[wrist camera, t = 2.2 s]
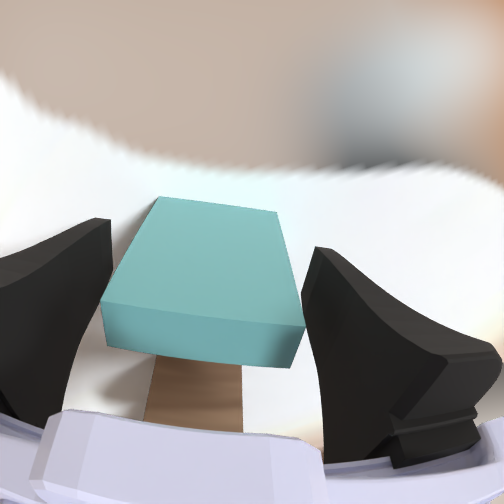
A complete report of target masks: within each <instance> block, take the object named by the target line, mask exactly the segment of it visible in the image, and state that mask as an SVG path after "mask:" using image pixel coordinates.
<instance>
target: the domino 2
mask: <svg viewBox="0 0 504 504" xmlns="http://www.w3.org/2000/svg"><path fill="white" fill-rule="evenodd" d="M143 421H144V422H150V423H156V424H162V425H169V426H176V427H184V428H192V429H201V430H212V431H224V432H238V433H243V407H242V365H236V364H225V363H216V362H207V361H198V360H190V359H183V358H176V357H169V356H162V355H157V358H156V362H155V367H154V371H153V376H152V380H151V385H150V390H149V395H148V399H147V404H146V409H145V414H144V419H143Z"/></svg>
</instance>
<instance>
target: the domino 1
mask: <svg viewBox="0 0 504 504" xmlns="http://www.w3.org/2000/svg"><path fill="white" fill-rule="evenodd" d="M100 303H101V311H102V317H103V324H104V330H105V336H106V342H107V346H110V347H115V348H121V349H126V350H132V351H137V352H143V353H149V354H156V355H162V356H169V357H176V358H183V359H190V360H198V361H207V362H216V363H225V364H236V365H247V366H259V367H274V368H290V367H291V365H292V362H293V360H294V357H295V354H296V352H297V349H298V347H299V344H300V341H301V339H302V336H303V334H304V331H305V328H306V324H305V320H304V316H303V312H302V308H301V304H300V300H299V296H298V292H297V288H296V284H295V280H294V276H293V272H292V268H291V264H290V260H289V257H288V253H287V249H286V245H285V241H284V238H283V234H282V230H281V226H280V223H279V219H278V215H277V212H272V211H266V210H259V209H252V208H245V207H238V206H231V205H224V204H216V203H209V202H201V201H194V200H186V199H178V198H169V197H161V196H159V197H158V199H157V201H156V202H155V204H154V205H153V207H152V209H151V210H150V212H149V214H148V215H147V217H146V219H145V220H144V222H143V224H142V225H141V227H140V229H139V230H138V232H137V234H136V235H135V237H134V239H133V241H132V242H131V244H130V246H129V248H128V249H127V251H126V253H125V255H124V256H123V258H122V260H121V262H120V264H119V266H118V267H117V269H116V271H115V273H114V275H113V277H112V278H111V280H110V282H109V284H108V286H107V288H106V290H105V292H104V294H103V296H102V298H101V300H100Z"/></svg>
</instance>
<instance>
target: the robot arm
mask: <svg viewBox="0 0 504 504" xmlns="http://www.w3.org/2000/svg"><path fill="white" fill-rule="evenodd" d="M112 271H113V260H112V240H111V220H110V219H101V218H93V219H90V220H87V221H85V222H83V223H80V224H78V225H76V226H74V227H72V228H70V229H68V230H66V231H64V232H62V233H60V234H58V235H56V236H53V237H51V238H49V239H47V240H45V241H43V242H40V243H38V244H36V245H34V246H32V247H29V248H27V249H24V250H22V251H19V252H17V253H14V254H11V255H8V256H6V257H2V258H0V504H491V503H490V501H492V500H493V499H495V498H497V497H498V496H500V495H501V494H503V493H504V416H502V417H498V418H495V419H492V420H489V421H486V422H484V423H482V424H480V425H479V426H477V427H476V426H475V424H474V421H473V419H475V418H476V417H477V414H478V413H477V411H476V409H475V407H474V406H475V404H476V403H477V402H478V401H479V400H480V399H481V398H482V397H483V396H484V395H485V393H486V392H487V391H488V390H489V389H490V388H491V387H492V385H493V384H494V382H495V381H496V380H497V378H498V376H499V374H500V372H501V368H502V364H503V363H502V359H501V357H500V355H499V354H498V352H497V351H496V349H495V348H494V347H493V345H492V344H490V343H488V342H485V341H482V340H479V339H476V338H473V337H470V336H467V335H464V334H462V333H459V332H457V331H455V330H452V329H450V328H448V327H445V326H443V325H441V324H439V323H437V322H435V321H433V320H431V319H429V318H427V317H425V316H424V315H422V314H420V313H418V312H416V311H415V310H413V309H411V308H410V307H408V306H406V305H405V304H403V303H402V302H400V301H399V300H397V299H396V298H394V297H393V296H391V295H390V294H389V293H387V292H386V291H385V290H383V289H382V288H381V287H379V286H378V285H377V284H375V283H374V282H373V281H372V280H370V279H369V278H368V277H367V276H365V275H364V274H363V273H362V272H361V271H359V270H358V269H357V268H356V267H355V266H353V265H352V264H351V263H350V262H349V261H347V260H346V259H345V258H344V257H342V256H341V255H340V254H338V253H337V252H336V251H334V250H332V249H329V248H322V247H315V249H314V252H313V255H312V259H311V262H310V265H309V269H308V272H307V275H306V278H305V281H304V285H303V288H302V291H301V300H302V310H303V316H304V320H305V324H306V329H307V333H308V337H309V340H310V344H311V348H312V352H313V356H314V359H315V363H316V368H317V373H318V378H319V386H320V395H321V405H322V417H323V437H324V464H323V462H322V456H321V451H320V450H318V449H316V448H315V447H313V446H311V445H310V444H308V443H306V442H305V441H303V440H301V439H299V438H295V437H287V436H279V435H272V434H261V433H238V432H224V431H212V430H201V429H192V428H184V427H176V426H169V425H162V424H156V423H150V422H144V421H138V420H133V419H128V418H123V417H118V416H113V415H109V414H104V413H100V412H91V411H82V410H74V409H69V410H64V411H62V412H61V410H62V405H63V400H64V395H65V391H66V387H67V383H68V379H69V375H70V371H71V368H72V364H73V361H74V358H75V355H76V352H77V349H78V346H79V344H80V341H81V339H82V336H83V334H84V332H85V330H86V328H87V326H88V324H89V322H90V320H91V318H92V316H93V314H94V312H95V310H96V308H97V306H98V304H99V302H100V300H101V298H102V296H103V294H104V292H105V290H106V288H107V285H108V282H109V280H110V277H111V274H112Z"/></svg>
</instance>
